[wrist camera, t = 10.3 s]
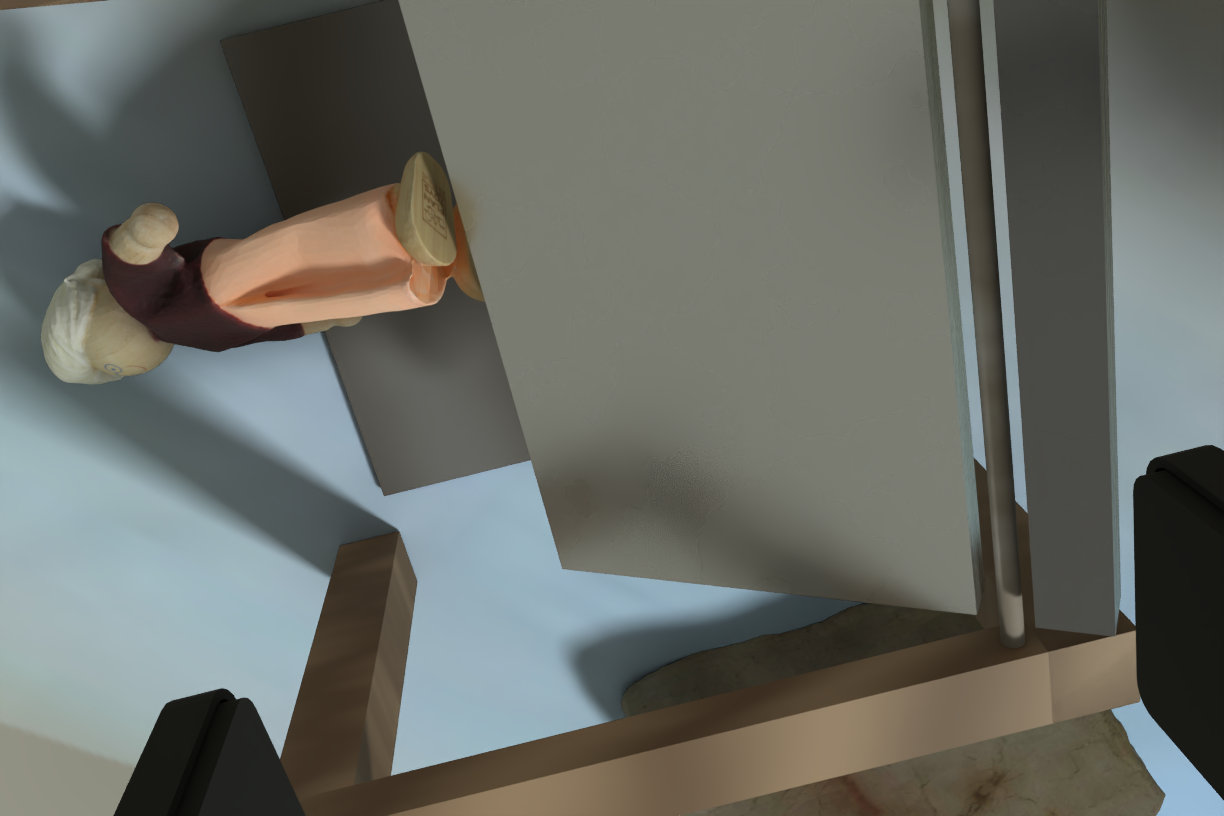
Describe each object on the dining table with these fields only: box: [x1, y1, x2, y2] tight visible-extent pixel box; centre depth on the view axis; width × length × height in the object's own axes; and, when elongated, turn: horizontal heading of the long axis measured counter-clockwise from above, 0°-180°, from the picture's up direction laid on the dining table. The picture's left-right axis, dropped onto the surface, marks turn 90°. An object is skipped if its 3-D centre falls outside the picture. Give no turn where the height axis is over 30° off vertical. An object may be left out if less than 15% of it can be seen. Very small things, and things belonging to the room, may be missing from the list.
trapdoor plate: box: [398, 0, 1121, 637], centre depth 22 cm, size 13×15×1 cm
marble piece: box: [621, 603, 1165, 816], centre depth 38 cm, size 17×15×4 cm
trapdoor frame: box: [0, 0, 1140, 816], centre depth 24 cm, size 20×21×13 cm
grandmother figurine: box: [41, 151, 485, 385], centre depth 27 cm, size 8×4×13 cm
